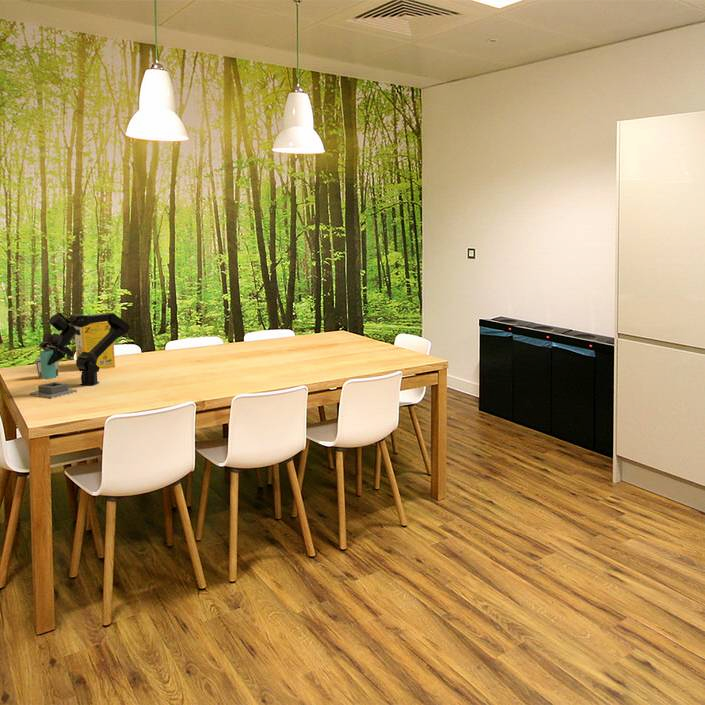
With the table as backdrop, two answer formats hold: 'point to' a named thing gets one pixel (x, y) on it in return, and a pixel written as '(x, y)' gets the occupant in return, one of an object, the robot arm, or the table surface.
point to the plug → (46, 369)
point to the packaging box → (95, 343)
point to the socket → (53, 390)
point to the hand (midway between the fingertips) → (45, 364)
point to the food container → (40, 367)
